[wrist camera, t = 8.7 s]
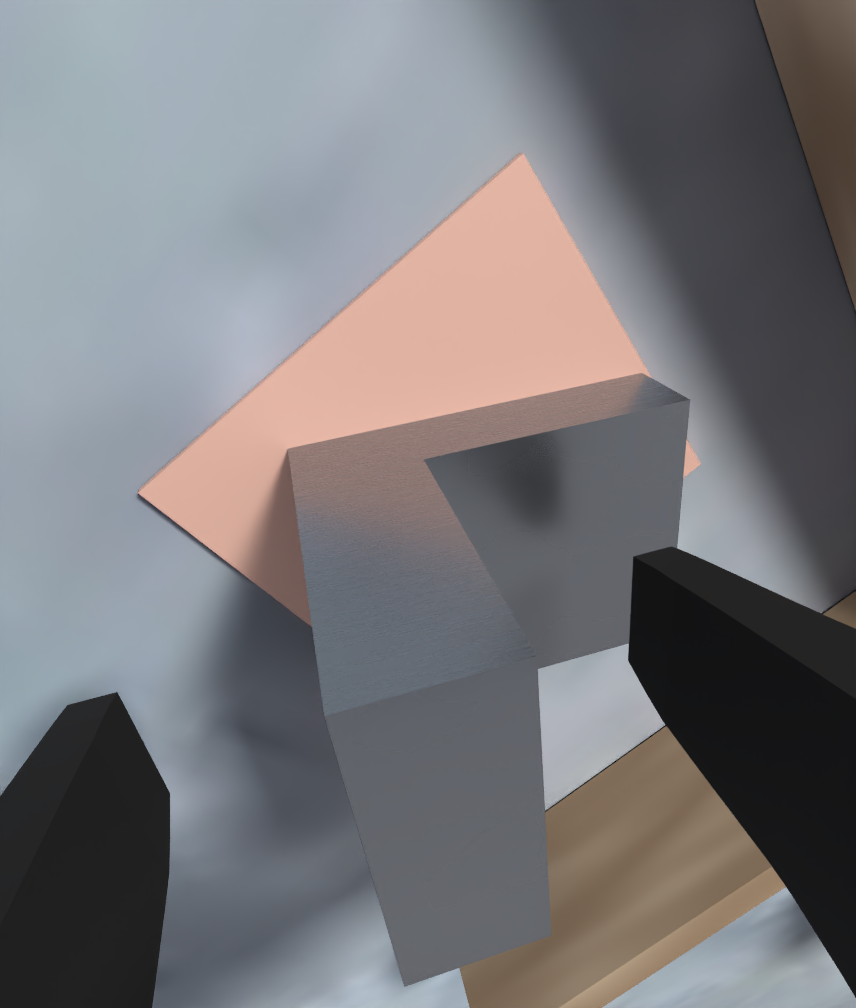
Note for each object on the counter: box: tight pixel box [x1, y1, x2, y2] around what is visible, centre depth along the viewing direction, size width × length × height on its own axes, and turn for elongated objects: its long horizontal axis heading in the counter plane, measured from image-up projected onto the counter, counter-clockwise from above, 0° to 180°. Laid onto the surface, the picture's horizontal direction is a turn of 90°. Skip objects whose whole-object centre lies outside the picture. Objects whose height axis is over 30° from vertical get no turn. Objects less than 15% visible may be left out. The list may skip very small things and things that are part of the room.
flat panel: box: [138, 153, 701, 627], centre depth 12 cm, size 7×8×1 cm
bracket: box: [288, 373, 690, 987], centre depth 10 cm, size 6×5×6 cm
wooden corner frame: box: [460, 0, 856, 1008], centre depth 11 cm, size 21×17×4 cm
